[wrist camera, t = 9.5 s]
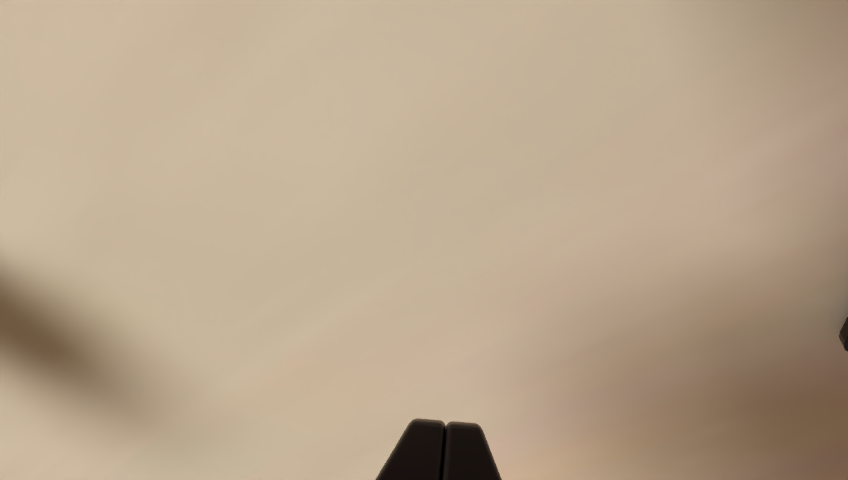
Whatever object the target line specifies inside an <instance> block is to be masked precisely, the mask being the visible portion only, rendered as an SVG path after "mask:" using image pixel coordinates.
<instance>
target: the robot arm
mask: <svg viewBox="0 0 848 480" xmlns="http://www.w3.org/2000/svg"><path fill="white" fill-rule="evenodd" d="M839 338H840V340H841V342H842V344H843V346H844V348H845V350H846V351H848V318H847V320H846V322H845V324H844V325H843V327H842V329H841V331H840V335H839ZM376 480H502V479H501V477H500V474H499V472H498V469H497V466H496V464H495V461H494V459H493V456H492V453H491V451H490V448H489V445H488V443H487V440H486V438H485V435H484V432H483V430H482V428H481V427H480V426H479V425H478V424H476V423H465V422H449V423H448V424H447V426H445V424H444V422H442V421H440V420H429V419H414V420H412V421H411V422H410V423H409V425H408V426H407V428H406V430H405V431H404V433H403V435H402V436H401V438H400V440H399V441H398V443H397V445H396V446H395V448H394V450H393V451H392V453H391V455H390V456H389V458H388V460H387V461H386V463H385V465H384V466H383V468H382V470H381V471H380V473H379V475H378V476H377V478H376Z"/></svg>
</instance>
